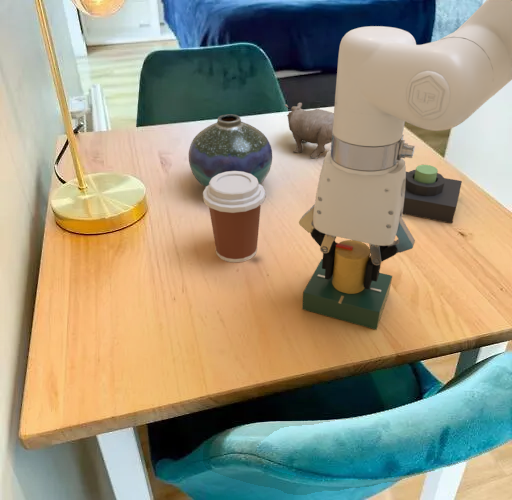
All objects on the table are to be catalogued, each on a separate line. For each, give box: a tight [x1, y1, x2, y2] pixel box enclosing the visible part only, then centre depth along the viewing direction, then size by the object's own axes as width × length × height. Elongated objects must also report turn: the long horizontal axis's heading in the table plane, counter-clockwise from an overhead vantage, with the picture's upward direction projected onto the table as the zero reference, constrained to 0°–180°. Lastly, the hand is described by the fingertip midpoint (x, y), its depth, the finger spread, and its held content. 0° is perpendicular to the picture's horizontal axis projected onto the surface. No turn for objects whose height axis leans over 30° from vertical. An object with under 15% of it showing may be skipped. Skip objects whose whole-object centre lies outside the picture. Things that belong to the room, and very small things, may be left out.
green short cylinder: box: [414, 164, 439, 184], centre depth 87 cm, size 4×4×2 cm
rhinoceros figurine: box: [284, 102, 334, 159], centre depth 107 cm, size 8×14×15 cm
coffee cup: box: [202, 171, 267, 264], centre depth 76 cm, size 9×9×12 cm
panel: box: [301, 258, 393, 331], centre depth 68 cm, size 10×9×3 cm
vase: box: [188, 113, 273, 189], centre depth 93 cm, size 15×15×13 cm
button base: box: [402, 169, 463, 224], centre depth 89 cm, size 12×10×5 cm
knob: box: [332, 239, 371, 294], centre depth 66 cm, size 4×4×6 cm
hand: (349, 276), depth 67 cm, fingers closed on knob, 4 cm apart
